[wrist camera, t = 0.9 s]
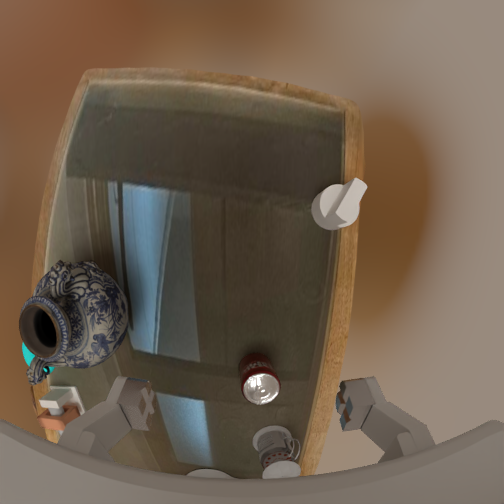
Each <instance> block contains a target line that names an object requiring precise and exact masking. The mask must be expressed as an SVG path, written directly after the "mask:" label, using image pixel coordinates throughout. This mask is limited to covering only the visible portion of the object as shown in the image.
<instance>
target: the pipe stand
mask: <svg viewBox="0 0 504 504" xmlns="http://www.w3.org/2000/svg"><path fill="white" fill-rule="evenodd" d="M50 388H51V391H50V392H49V393H48V394H46V395H45V396H43V397H42V398H41V399H39V401H40V404H41V406H42V407H46V408H48V409H49V412H50V414H51V416H58V417H61V416H62V415H63V414H65V412H64V409H63V407H62V406H63V405H70V406H77V407H78V409H79V412H80V414H81V415H82V414H83V413H85V412H86V410H85V407H84V405H83V402H82V400H81V397H80V394H79V392H78V389H77V386H50ZM58 431H59V433H60V436H61V435H62V433H63V431H61V430H58Z"/></svg>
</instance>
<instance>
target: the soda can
mask: <svg viewBox="0 0 504 504" xmlns="http://www.w3.org/2000/svg"><path fill="white" fill-rule="evenodd" d="M239 376H240V383H241V391H242V394H243V396H244V397H245V399H246V400H248V401H249V402H251V403H254V404H259V405H260V404H267V403H269V402H271V401H273V400H274V399H275V398H276V397H277V396H278V394H279V392H280V388H281V384H280V381H279V379H278V376H277V374H276V372H275V370H274V368H273V366H272V364H271V361H270V360H269V358H268V357H267V356H265V355H263V354H261V353H251V354H249V355H247V356H245V357H244V358H243V359H242V360H241V362H240V364H239Z"/></svg>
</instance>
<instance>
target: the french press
mask: <svg viewBox="0 0 504 504" xmlns="http://www.w3.org/2000/svg"><path fill="white" fill-rule="evenodd" d="M294 440H296V441H297V442H298V444H299V452H300V443H299V441H298V440H297V439H293V438H292V436H291V434H290V432H289V431H288V430H287V429H286V428H284V427H281V426H268V427H265V428H263V429H261V430H260V431H258V432H257V433H256V434H255V436H254V438H253V446H254V448H255V449H256V450H257V451H258V453H259V458H260V463H261V464H262V466H263V468H264V469H265V470H264V472H263V479H272V478H288V477H298V476H299V475H300V472H301V468H300V467H299V465H298V464H296V463H295V462H294V460H295V459H297V457H298V455H299V452H298V455H297V456H296V458H294V453H293V449H294ZM291 441H293V449H292V447H291V445H290V443H291ZM288 449H289V451H288V452H286V451H287V450H288ZM290 450H291V451H292V452H291V451H290ZM289 452H290V453H289ZM292 454H293V455H292Z"/></svg>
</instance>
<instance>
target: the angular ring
mask: <svg viewBox="0 0 504 504" xmlns="http://www.w3.org/2000/svg"><path fill="white" fill-rule="evenodd" d="M62 407H63V409H64V412H65V414H63V415H62V416H61V417H58V416H51V414H50V412H49V409H47V410H45V411H44V412H43V413H42V414H41V415H39V416H38V417H37V419H38V421H39V423H40V425H41V427H42V428H46V429H53V430H61V431H64V429H65V427H66V424H68V423H69V422H71V421H72V420H74V419H76V418H77V417H79V416H80V415H81V414H80V412H79V409H78V407H77V406H70V405H63V406H62Z"/></svg>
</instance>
